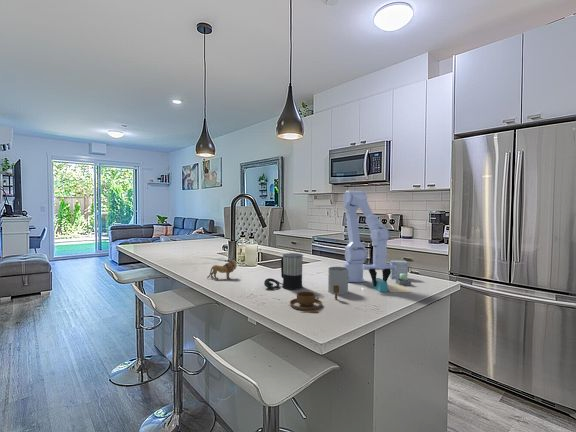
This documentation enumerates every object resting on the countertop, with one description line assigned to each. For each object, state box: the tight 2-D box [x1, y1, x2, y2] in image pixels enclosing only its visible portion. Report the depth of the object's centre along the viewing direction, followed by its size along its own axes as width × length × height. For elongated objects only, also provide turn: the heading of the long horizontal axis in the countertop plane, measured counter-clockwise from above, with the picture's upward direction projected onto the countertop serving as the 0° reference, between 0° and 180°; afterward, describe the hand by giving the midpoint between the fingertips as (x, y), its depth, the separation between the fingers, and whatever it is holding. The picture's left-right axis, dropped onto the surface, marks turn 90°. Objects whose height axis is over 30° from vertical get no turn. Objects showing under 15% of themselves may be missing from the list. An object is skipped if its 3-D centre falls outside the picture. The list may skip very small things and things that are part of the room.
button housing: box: [395, 278, 412, 286], centre depth 152 cm, size 5×5×2 cm
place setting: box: [289, 285, 339, 314], centre depth 121 cm, size 18×20×6 cm
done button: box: [400, 273, 408, 281], centre depth 152 cm, size 3×3×3 cm
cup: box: [327, 266, 349, 295], centre depth 139 cm, size 8×8×10 cm
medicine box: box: [389, 260, 409, 280], centre depth 164 cm, size 8×4×9 cm, turn 84°
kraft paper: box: [387, 284, 412, 293], centre depth 144 cm, size 9×12×1 cm
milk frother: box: [263, 252, 304, 290], centre depth 145 cm, size 14×16×15 cm
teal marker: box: [371, 277, 388, 293], centre depth 144 cm, size 3×11×4 cm, turn 6°
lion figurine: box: [206, 259, 238, 280], centre depth 163 cm, size 15×5×9 cm, turn 103°
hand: (379, 286), depth 143 cm, fingers closed on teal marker, 4 cm apart
